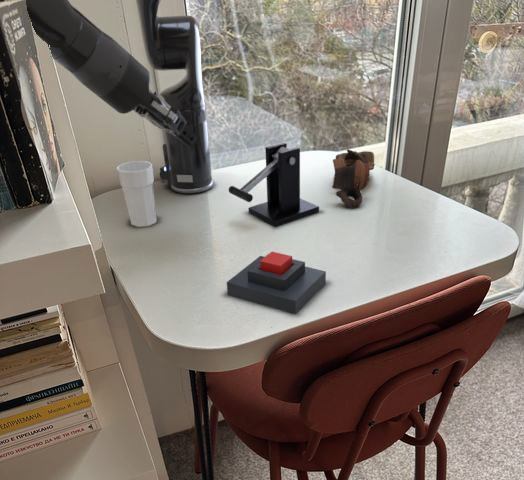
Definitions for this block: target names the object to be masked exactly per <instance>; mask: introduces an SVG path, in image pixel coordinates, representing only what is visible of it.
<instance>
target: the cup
mask: <svg viewBox="0 0 524 480" xmlns="http://www.w3.org/2000/svg"><path fill="white" fill-rule="evenodd" d="M153 168H154V167H153V164H152V163H151V162H150V161H146V160H134V161H132V160H131V161H127V162H123V163H120V164H119V165H118V166H117V167H116V172H117V176H118V180H119V184H120V186H121V188H122V193H123V196H124V199H125V204H126V209H127V211H128V215H129V219H130V224H131V226H134V227H137V228H142V227H150V226H152V225H154V224H156V223H157V211H156V203H155V192H154V182H155V177H154V169H153Z"/></svg>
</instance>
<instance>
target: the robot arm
mask: <svg viewBox="0 0 524 480" xmlns="http://www.w3.org/2000/svg"><path fill="white" fill-rule="evenodd" d="M135 1H136V8H137V15H138V19H139V24H140V30H141V31H140V32H141V37H142V42H143V47H144V52H145V56H146V59H147V63H148V64H149V66H150V68H152V69H153V70H155V71H163V72H164V71H180V70H181V71H183V70H185V72H186V74H185V76H184V77H183V78H182V79H181V80H180V81H178V82H177V83H175V84H173V85H171V86H169V87H167V88H164V89H163V90H162V91H160V93H159V92H157V91H155V90H154V92H153V91H152V90H151V89H150V85H151V78H152V77H151V73H150V71H149V70H148V69H147V68H146V67H145V66H144V65H143V64H142V63H141V62H139V60H137V59H136V58H135V57H134V56H133V55H132V54H131V53H129V52H128V51H127V49H125V47H123V46H122V45H120V43H119V42H118V41H116V40H115V39H114V38H113V37H111V36H110V35H109V34H107V33H106V32H104V31H103V30H102V29H101V28H99V27H98V26H97V25H96V24H95V23H94V22H92V21H91V20H90V19H89V18H87V16H85V14H83V13H82V12H81V10H79V9H78V8H76V7H75V6H74V5H73V4H71V2H70V1H69V0H26V5H27V11H28V14H29V17H30V19H31V22H32V26H33V28H34V30H35V32H36V34H37V35H38V36H39V37H40V38H41V39H42V40H43V41H45V42H46V43H47V44H48V47H49V45H50V48H49V49H50V50H51V54H52V57H53V58H52V57H51V58H52V59H53V60H54V61H55V62H57V63H58V64H59V65H60V66H61V67H63V68H64V69H65V70H67V71H68V72H69V73H71V74H72V75H73V76H74V78H75V79H76V80H78V81H79V82H80V83H81V84H82V85H83V86H84V87H85V88H87V89H88V90H89V91H90V92H92V93H93V94H94V95H95V96H97V97H98V98H99V99H101V100H102V101H103V102H104V103H106V104H107V105H108V106H110V108H112V109H114V110H115V111H116V112H117V113H119V114H124V115H125V114H128V113H129V114H130V113H131V112H134V113H136V115H138V116H139V117H141V118H144V119H146V121H148V122H149V123H151V124H152V125H153V126H154V127H157V128H158V129H160V130H163V133H164V134H163V135H164V140H165V141H164V142H165V143H163V144H162V153H163V157H164V158H163V160H164V165H163V166H161V167H160V168H159V177H160V179H161V180H164V181H166V182H167V188H169V189H171V190H172V191H173V192H175V193H178V194H188V195H189V194H199V193H203V192H206V191H208V190H210V189H212V188H213V186H214V180H213V175H212V162H211V152H210V142H209V133H208V132H209V131H208V121H207V113H206V112H207V111H206V103H205V93H204V92H205V91H204V84H203V83H204V82H203V72H202V71H203V70H202V51H201V50H202V48H201V33H200V29H199V25H198V24H199V23H198V22H197V20H196V18H195V17H194V16H193V15H168V16H158V11H159V7H160V3H161V0H135Z"/></svg>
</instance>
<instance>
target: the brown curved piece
mask: <svg viewBox="0 0 524 480" xmlns="http://www.w3.org/2000/svg"><path fill="white" fill-rule="evenodd" d="M347 153H348V152H343V153H338V154H336V155H335V159H338V158H343V159H344V162H345V164H346V165H351V164H355V162H356V161H357V160H360V159H359V158H357V159H347V160H345V156H346V155H347ZM357 153H363V154H364V155H365V156H366V158H367V160H368V164H369V170H370V171H372V170H373V171H374V169H375V164H376V163H375V154H374V151H368V150H367V151H364V150H363V151H359V152H358V151H357ZM360 161H361V160H360Z"/></svg>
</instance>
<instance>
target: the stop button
mask: <svg viewBox="0 0 524 480" xmlns="http://www.w3.org/2000/svg"><path fill="white" fill-rule="evenodd" d="M266 255H267V256H266ZM266 255H265V256H266V257H265V256H264V257H265V258H263V259H262V260H261V261H260V269H261V270H263V271H267V272H271V273H275V274H279V275H282V274H284V273H285V272H286V271H287V270H288V269H289V268H290V267H292V259H293V255H288V254H285V253H281V252H276V251H271V252H269V253H268V254H266Z"/></svg>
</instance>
